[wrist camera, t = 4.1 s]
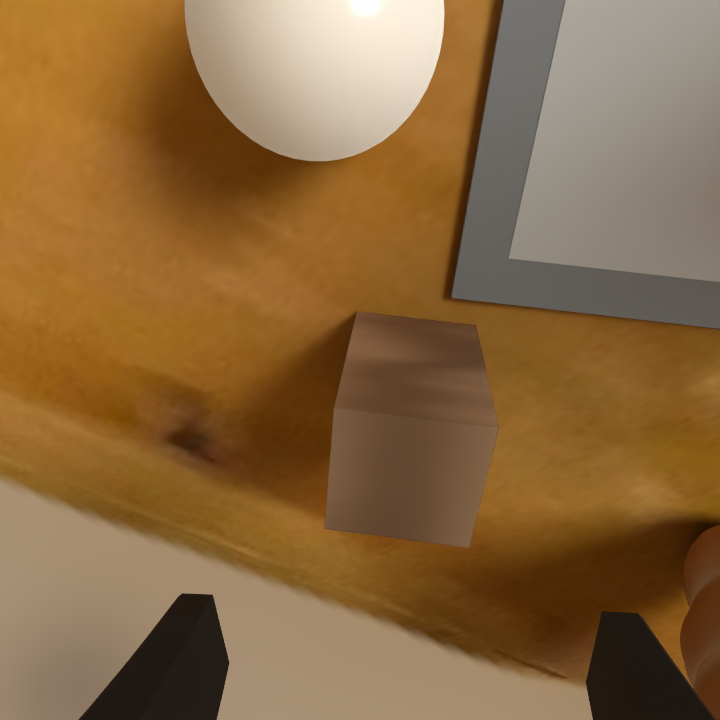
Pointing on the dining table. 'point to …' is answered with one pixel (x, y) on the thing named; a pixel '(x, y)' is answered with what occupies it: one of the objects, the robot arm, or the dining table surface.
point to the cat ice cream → (703, 618)
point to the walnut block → (411, 431)
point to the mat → (599, 162)
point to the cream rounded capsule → (316, 68)
